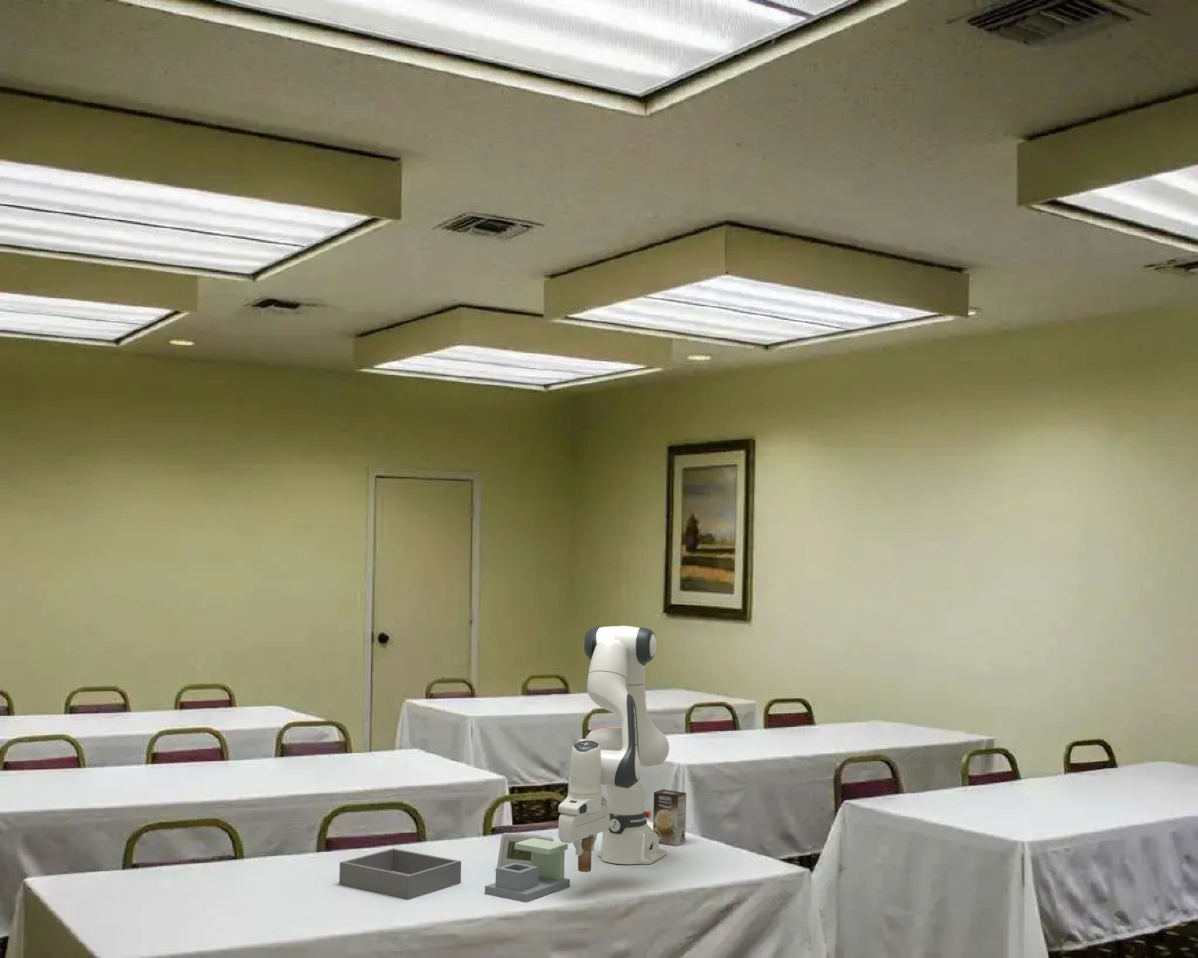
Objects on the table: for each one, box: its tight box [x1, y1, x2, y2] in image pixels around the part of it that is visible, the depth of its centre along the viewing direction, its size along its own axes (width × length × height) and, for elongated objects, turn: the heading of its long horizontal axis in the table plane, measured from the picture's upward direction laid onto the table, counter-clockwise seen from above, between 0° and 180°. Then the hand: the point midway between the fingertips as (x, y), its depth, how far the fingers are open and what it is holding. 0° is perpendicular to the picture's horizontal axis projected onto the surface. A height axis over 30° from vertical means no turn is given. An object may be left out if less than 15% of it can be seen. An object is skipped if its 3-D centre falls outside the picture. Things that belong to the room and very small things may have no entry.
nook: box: [484, 838, 571, 903], centre depth 351 cm, size 20×14×12 cm
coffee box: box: [652, 788, 687, 847], centre depth 412 cm, size 9×6×16 cm
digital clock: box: [496, 832, 554, 868], centre depth 370 cm, size 16×9×11 cm, turn 60°
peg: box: [577, 827, 592, 873], centre depth 351 cm, size 4×4×12 cm
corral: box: [338, 847, 462, 900], centre depth 355 cm, size 21×25×6 cm
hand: (584, 852), depth 351 cm, fingers closed on peg, 4 cm apart
